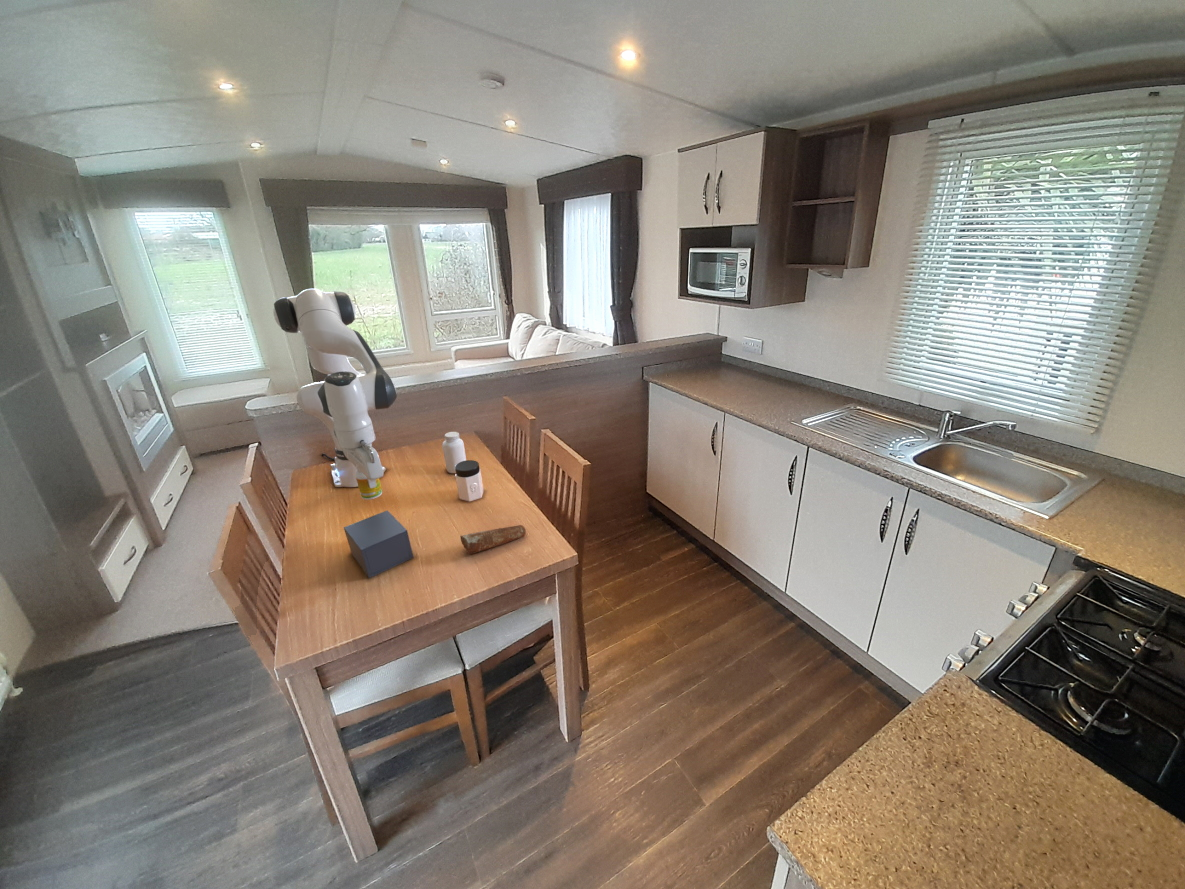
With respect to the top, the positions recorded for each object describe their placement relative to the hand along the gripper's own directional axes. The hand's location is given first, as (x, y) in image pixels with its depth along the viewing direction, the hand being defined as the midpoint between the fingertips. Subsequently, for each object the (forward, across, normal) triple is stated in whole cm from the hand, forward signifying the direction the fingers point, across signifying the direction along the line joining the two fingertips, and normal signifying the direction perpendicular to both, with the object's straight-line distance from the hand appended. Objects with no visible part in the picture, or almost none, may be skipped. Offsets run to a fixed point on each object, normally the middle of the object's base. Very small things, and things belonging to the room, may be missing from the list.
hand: (368, 482), depth 128 cm
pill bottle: (+25, +35, -41) cm, 59 cm away
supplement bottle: (+4, 0, 0) cm, 4 cm away
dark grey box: (+25, +1, +1) cm, 25 cm away
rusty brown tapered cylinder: (+25, -17, -26) cm, 40 cm away
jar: (+25, +13, -35) cm, 45 cm away
